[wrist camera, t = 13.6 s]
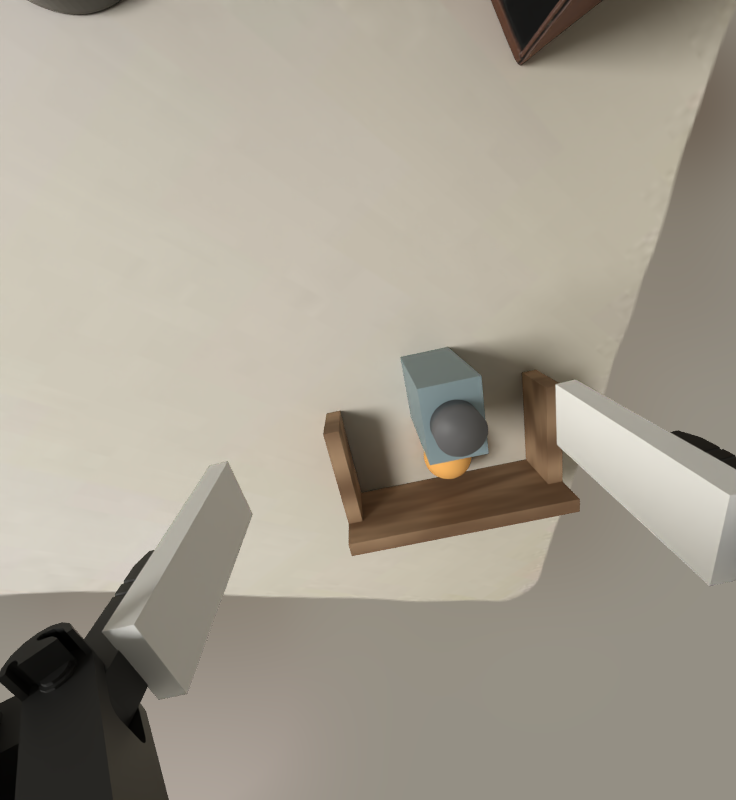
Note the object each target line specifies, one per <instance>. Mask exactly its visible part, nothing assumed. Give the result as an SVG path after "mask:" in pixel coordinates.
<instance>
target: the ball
mask: <svg viewBox="0 0 736 800" xmlns="http://www.w3.org/2000/svg"><path fill="white" fill-rule="evenodd" d="M424 460H425V463H426V465H427V467H428V469H429V470H430V471H431V472H432V473H433V474H434V475H436V476H438V477H440V478H443V479H454V478H457V477H459V476H461V475H462V474H464V473H465V472H466V470H467V469H468V467H469V465H470V462H471V457H469V458H464V459H459V460H454V461H449V462H444V463H439V464H434V465H430V464H429V462H428V459H427V456H426V454H425V451H424Z"/></svg>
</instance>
